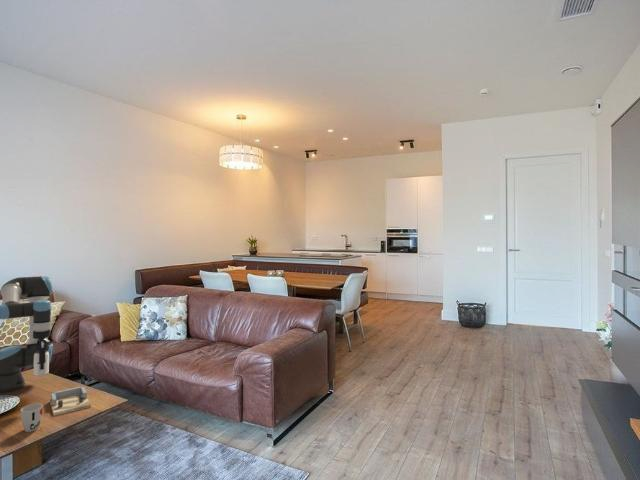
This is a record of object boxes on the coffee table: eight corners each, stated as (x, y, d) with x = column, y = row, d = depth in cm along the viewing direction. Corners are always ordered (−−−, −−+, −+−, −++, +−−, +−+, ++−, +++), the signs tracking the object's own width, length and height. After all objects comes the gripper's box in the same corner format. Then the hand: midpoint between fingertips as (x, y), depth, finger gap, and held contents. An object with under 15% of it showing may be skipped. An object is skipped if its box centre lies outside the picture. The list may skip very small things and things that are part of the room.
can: (46, 370, 203) (46, 348, 203) (50, 373, 199) (50, 351, 199) (31, 374, 198) (32, 351, 198) (35, 377, 194) (35, 354, 194)
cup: (30, 434, 169) (30, 412, 169) (15, 432, 171) (16, 410, 171) (46, 425, 177) (47, 404, 177) (32, 423, 179) (33, 402, 179)
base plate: (49, 401, 202) (49, 393, 202) (84, 394, 212) (84, 386, 212) (53, 415, 187) (53, 406, 187) (90, 407, 197) (90, 398, 197)
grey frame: (51, 398, 202) (51, 392, 202) (83, 391, 212) (83, 386, 212) (52, 405, 194) (53, 399, 194) (86, 398, 204) (86, 392, 203)
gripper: (31, 327, 203) (31, 369, 204) (33, 335, 188) (33, 380, 189) (48, 325, 208) (48, 366, 208) (52, 332, 193) (51, 377, 194)
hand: (41, 373), depth 199 cm, fingers closed on can, 6 cm apart
